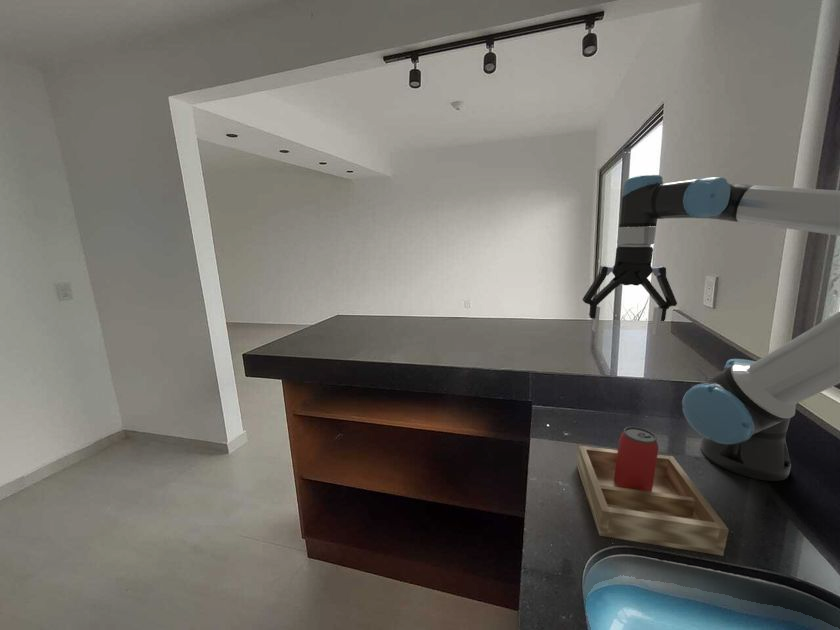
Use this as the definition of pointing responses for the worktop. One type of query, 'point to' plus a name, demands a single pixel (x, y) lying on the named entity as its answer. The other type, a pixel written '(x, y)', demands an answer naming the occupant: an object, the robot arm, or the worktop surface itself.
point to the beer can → (636, 459)
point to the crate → (650, 505)
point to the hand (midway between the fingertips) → (624, 332)
